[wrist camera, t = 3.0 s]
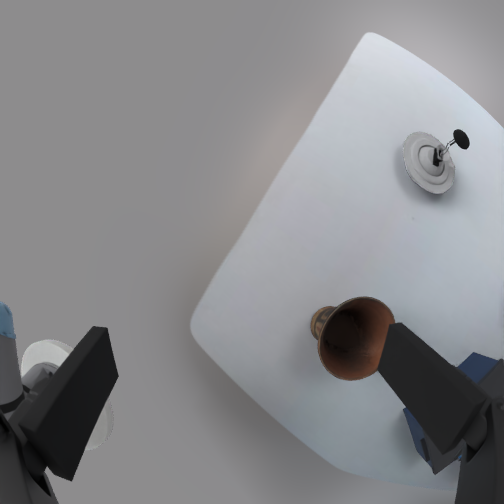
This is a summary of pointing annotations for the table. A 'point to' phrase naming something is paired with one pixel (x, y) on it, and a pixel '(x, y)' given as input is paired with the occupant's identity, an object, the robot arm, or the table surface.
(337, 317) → the cup
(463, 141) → the round stand with stem
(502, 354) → the table surface
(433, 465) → the storage box
